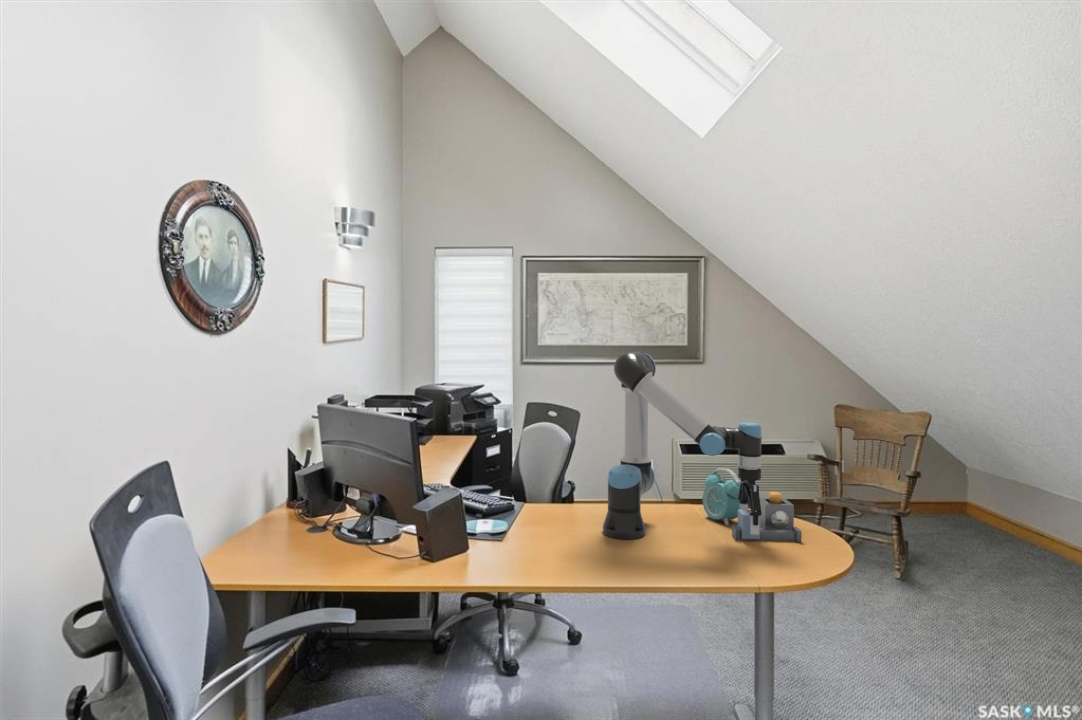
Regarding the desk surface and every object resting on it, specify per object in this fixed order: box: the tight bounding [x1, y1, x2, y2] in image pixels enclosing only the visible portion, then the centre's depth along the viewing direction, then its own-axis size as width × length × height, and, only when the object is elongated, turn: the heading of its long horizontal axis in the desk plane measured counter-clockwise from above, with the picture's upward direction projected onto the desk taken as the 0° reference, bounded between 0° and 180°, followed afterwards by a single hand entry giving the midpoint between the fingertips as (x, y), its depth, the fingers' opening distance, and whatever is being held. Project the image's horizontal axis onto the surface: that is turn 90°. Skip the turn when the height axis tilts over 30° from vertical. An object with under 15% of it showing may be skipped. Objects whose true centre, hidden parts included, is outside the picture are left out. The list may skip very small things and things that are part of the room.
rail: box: [731, 524, 802, 544], centre depth 207 cm, size 22×5×4 cm, turn 86°
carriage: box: [736, 509, 762, 539], centre depth 208 cm, size 6×7×8 cm
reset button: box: [768, 491, 783, 504], centre depth 220 cm, size 4×4×4 cm
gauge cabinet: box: [760, 497, 795, 530], centre depth 220 cm, size 10×11×10 cm
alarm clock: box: [702, 467, 741, 526], centre depth 230 cm, size 17×10×20 cm, turn 25°
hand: (749, 528), depth 208 cm, fingers open, 13 cm apart
